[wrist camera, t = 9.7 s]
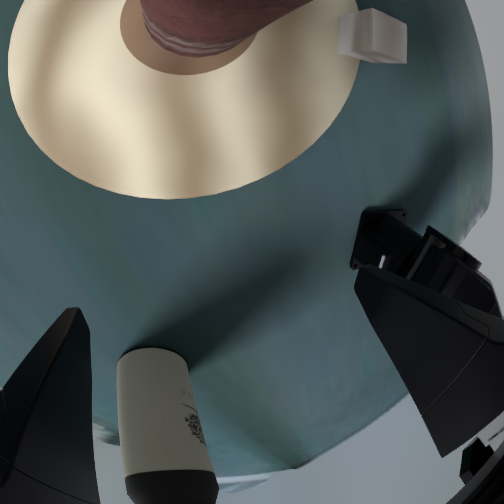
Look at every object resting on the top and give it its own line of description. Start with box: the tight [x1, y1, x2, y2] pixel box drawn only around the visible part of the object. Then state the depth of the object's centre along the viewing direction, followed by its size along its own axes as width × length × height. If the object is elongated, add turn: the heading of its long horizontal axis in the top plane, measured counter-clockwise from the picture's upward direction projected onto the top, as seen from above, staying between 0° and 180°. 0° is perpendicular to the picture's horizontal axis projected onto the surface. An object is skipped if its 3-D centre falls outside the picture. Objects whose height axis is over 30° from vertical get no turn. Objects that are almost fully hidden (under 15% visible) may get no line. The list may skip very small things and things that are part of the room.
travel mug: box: [117, 348, 219, 504], centre depth 20 cm, size 8×8×18 cm
